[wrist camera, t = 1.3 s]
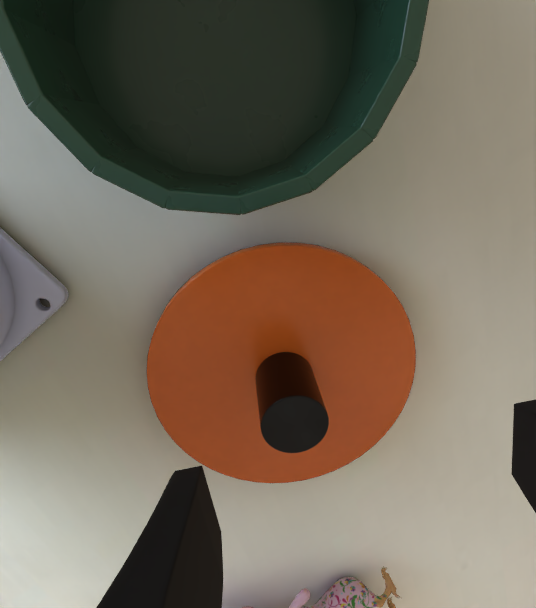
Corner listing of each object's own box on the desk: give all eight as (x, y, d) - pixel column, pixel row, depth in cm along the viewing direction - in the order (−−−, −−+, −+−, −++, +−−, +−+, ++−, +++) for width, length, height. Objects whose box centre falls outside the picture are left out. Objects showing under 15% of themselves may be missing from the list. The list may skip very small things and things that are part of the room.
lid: (265, 504, 23) (273, 587, 19) (94, 356, 19) (57, 419, 15) (452, 371, 21) (508, 431, 17) (302, 178, 17) (326, 194, 13)
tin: (208, 241, 18) (200, 287, 13) (-7, 6, 14) (-134, -59, 9) (420, 58, 16) (509, 26, 11) (230, -257, 13) (232, -511, 8)
